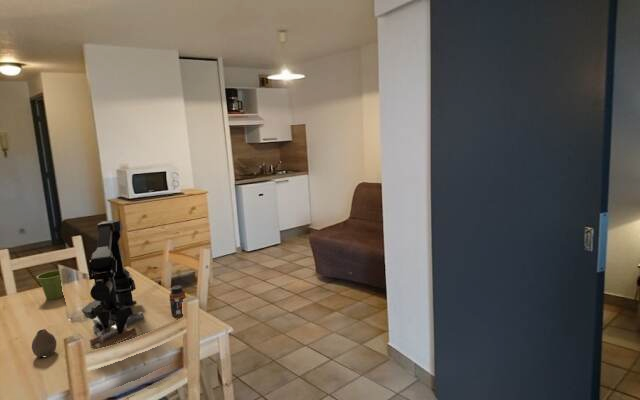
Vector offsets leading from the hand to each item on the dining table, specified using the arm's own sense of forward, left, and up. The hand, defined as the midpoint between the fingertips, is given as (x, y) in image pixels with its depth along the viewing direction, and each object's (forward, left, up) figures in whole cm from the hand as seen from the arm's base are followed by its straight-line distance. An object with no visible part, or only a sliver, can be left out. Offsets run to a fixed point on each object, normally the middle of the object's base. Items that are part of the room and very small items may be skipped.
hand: (113, 331), depth 146 cm
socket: (-9, +8, -3) cm, 13 cm away
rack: (0, 0, -3) cm, 3 cm away
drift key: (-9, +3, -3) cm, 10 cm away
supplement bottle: (+5, +25, -3) cm, 26 cm away
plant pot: (-65, +12, -3) cm, 66 cm away
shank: (0, 0, -2) cm, 2 cm away
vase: (-12, -17, -3) cm, 21 cm away
